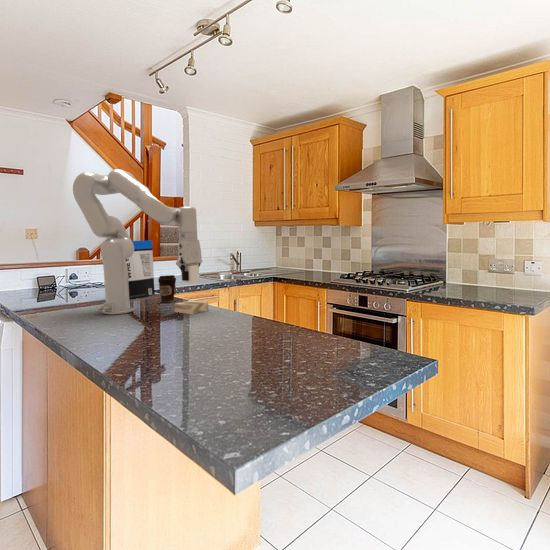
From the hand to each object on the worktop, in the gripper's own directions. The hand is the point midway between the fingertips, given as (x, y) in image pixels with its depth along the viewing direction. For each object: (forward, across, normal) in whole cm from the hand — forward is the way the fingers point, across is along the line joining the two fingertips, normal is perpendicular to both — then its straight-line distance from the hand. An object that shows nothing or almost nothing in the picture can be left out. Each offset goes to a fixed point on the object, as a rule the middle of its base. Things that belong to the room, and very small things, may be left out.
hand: (190, 279), depth 175 cm
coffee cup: (+14, +14, +28) cm, 34 cm away
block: (+14, 0, 0) cm, 14 cm away
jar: (+1, 0, 0) cm, 1 cm away
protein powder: (+14, +19, +56) cm, 61 cm away
